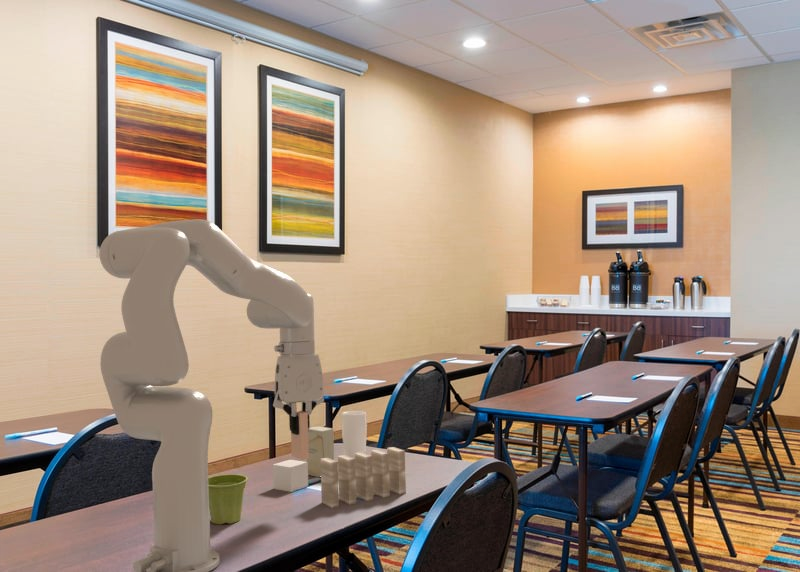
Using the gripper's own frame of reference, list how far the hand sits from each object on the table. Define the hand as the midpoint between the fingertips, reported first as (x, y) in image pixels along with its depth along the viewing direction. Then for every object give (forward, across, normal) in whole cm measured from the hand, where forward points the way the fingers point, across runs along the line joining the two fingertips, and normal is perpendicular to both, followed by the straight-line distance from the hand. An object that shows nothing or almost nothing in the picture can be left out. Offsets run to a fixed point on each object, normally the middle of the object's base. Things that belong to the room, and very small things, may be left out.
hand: (299, 432), depth 166 cm
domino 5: (+17, +20, 0) cm, 26 cm away
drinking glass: (+17, +28, +26) cm, 41 cm away
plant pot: (+17, -16, +3) cm, 24 cm away
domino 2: (+17, +7, 0) cm, 18 cm away
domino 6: (+17, +24, 0) cm, 30 cm away
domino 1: (+5, 0, 0) cm, 5 cm away
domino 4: (+17, +16, 0) cm, 23 cm away
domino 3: (+17, +11, 0) cm, 20 cm away
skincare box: (+17, +17, +26) cm, 35 cm away
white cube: (+17, +6, +19) cm, 27 cm away
